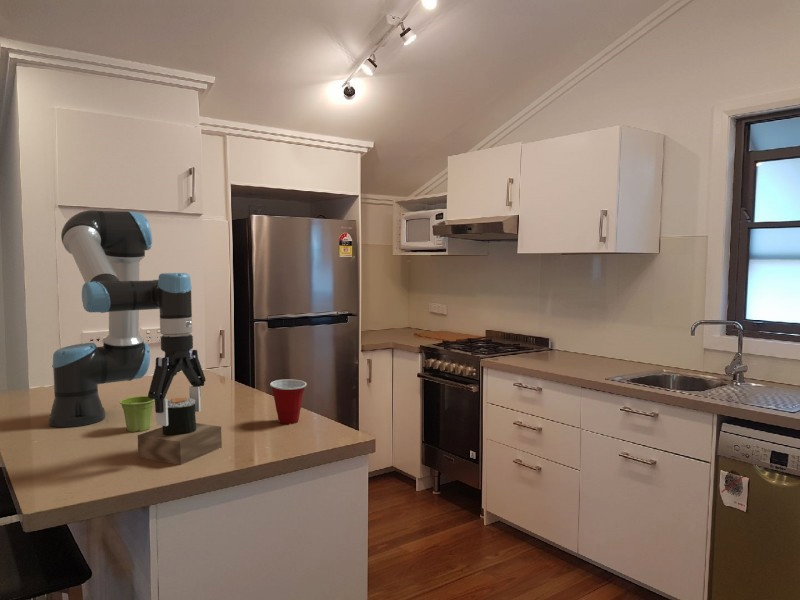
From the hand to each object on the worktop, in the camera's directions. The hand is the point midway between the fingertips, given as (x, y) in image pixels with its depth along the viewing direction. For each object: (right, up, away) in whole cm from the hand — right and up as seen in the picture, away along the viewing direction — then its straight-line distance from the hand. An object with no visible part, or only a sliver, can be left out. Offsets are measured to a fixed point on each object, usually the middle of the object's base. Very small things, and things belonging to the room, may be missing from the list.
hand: (179, 418), depth 146 cm
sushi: (0, -3, 0) cm, 3 cm away
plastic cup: (+22, -7, +28) cm, 36 cm away
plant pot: (-20, -8, +22) cm, 31 cm away
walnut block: (0, -9, +1) cm, 9 cm away
